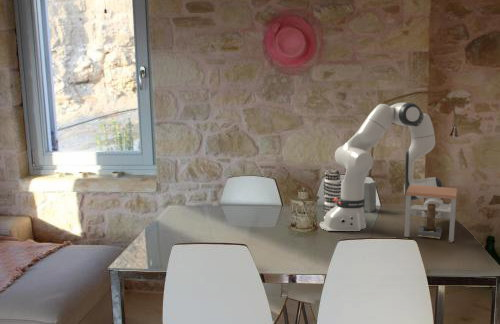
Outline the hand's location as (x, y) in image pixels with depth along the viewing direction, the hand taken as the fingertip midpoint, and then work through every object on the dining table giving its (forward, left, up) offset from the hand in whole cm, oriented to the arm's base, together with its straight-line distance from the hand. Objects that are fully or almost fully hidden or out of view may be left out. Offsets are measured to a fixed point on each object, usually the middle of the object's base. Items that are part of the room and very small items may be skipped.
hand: (430, 216), depth 245 cm
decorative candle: (-36, +36, -9) cm, 51 cm away
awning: (0, +1, -9) cm, 9 cm away
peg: (+1, +1, -6) cm, 7 cm away
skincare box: (-13, +47, -9) cm, 49 cm away
